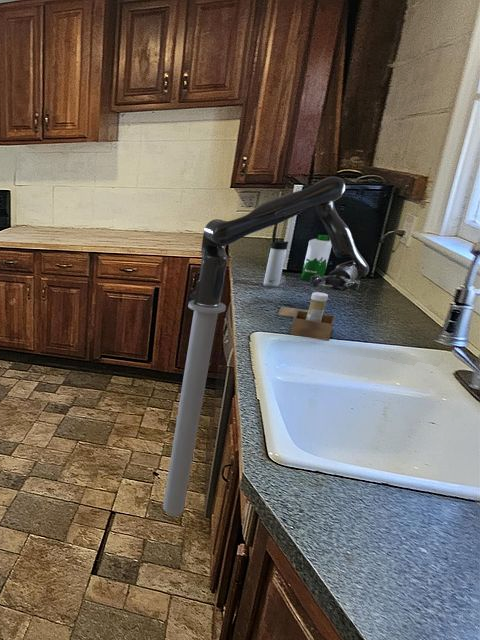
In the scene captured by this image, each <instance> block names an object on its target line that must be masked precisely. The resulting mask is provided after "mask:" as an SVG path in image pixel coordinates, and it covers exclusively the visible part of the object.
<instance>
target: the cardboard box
mask: <svg viewBox="0 0 480 640" xmlns="http://www.w3.org/2000/svg"><path fill="white" fill-rule="evenodd" d="M307 314H308V312H306V311H299V310H297V312H296V314H295V317H294V318H292V319H293V320H292V324H291V328H290V333H289V335H292V336H298V337H304V338H309V339H315V340H320V341H321V340H322V341H327V342H329V341H330V339H331V334H332V330H333V327H334V322H335V318H336V316H335V315H332V314H326V313H325V314H324V313H323V316H322V320H321V322H316V321H309V320H306V318H307ZM321 336H322V337H321ZM327 337H328V338H327Z"/></svg>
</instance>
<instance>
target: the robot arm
mask: <svg viewBox="0 0 480 640" xmlns="http://www.w3.org/2000/svg"><path fill="white" fill-rule="evenodd" d="M346 187H347V186H346V182H345V181H344V180H343V179H342V178H340V177H337V176H328V177H325V178H323V179H321V180H318V181H317V182H315V183H314V184H312V185H311V186H308V187H306V188H304V189H301V190H298V191H293V192H289V193H287V194H283V195H281V196H278V197H275V198H273V199H270V200H267V201H264V202H263V203H261V204H259V205H257V206H256V207H255V208H253V209H252V210H251V211H250V212H249V213H247V214H245V215H244V216H240V217H238V218H235V219H231V220H224V219H220V218H219V219H218V218H215V219H212V220H210V221H209V222H208V223H207V224H206V225H205V227H204V229H203V234H202V241H201V248H200V249H201V251H200V252H201V264H200V269H199V277H198V280H197V281H196V285H195V290H194V291H193V292H192V293H191V294H190V295H189V299H190V301H193V300H194V304H195V305H198V306H202V307H208V308H215V307H219V306H220V303H221V299H222V298H221V297H222V296H223V288H224V282H225V276H226V275H225V274H226V271H227V264H228V255H227V253H226V249H225V248H226V246H228V245H231V244H232V243H235V242H237V241H238V240H240V239H243V238H244V237H246V236H248V235H250V234H254V233H256V232H259V231H261V230H264V229H267V228H270V227H273V226H276V225H279V224H280V223H282V222H285V221H287V220H289V219H291V218H293V217H296V216H297V215H299V214H301V213H303V212H305V211H307V210H309V209H311V208H314V209H315V211H316V213H317V216H318V217H319V219H320V220H321V223H322V225H323V227H324V228H325V231H326V233H327V236H329V237H328V240H330V242H331V245H332V247H331V249H332V250H333V253H334V256H335V257H336V258H347V257H348V258H350V259H352V260H349V261H346V262H342V263H339V264H338V265H336V266H335V268H334V269H333V270H331V271H330V272H329V273H328V274H327V275H324V276H322V277H320V275H319V274H316V275H314V276H312V277H311V281H309V285H312V286H313V287H314V288H318V287H319V286H321V287H328V288H329V289H331V290H333V291H342V292H346V291H351V290H352V291H354V292H355V291H356V292H357V290H358V289H359V287H360V285H361V284H360V283H361V280H360V278H364V277H366V276H367V275H368V274H369V273H370V266H369V264H368V263H367V261H366V260H365V258H364V257H363V256H362V255H361V253H360V251H359V250H358V248H357V246H356V242H355V240H354V236H353V234H352V232H351V230H350V228H349V227H348V225H347V224H346V223H345V222H344V220H343V219H342V218H341V217H340V216H339V214H338V212H337V210H336V207H335V203H334V202H336V201H337V200H339V199H340V198H342V196H343V195H344V193H345V191H346Z"/></svg>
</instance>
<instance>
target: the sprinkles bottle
mask: <svg viewBox="0 0 480 640" xmlns="http://www.w3.org/2000/svg"><path fill="white" fill-rule="evenodd" d="M328 298H329V294H327V293H325V292H319V291H318V292H315V291H314V292H312V293H311V297H310V303H309V306H308V309H307V310H308V314H307V318H306V320H309V321H316V322H321V320H322V316H323V314H324V312H325V308H326V303H327V301H328Z"/></svg>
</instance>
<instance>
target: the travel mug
mask: <svg viewBox="0 0 480 640" xmlns="http://www.w3.org/2000/svg"><path fill="white" fill-rule="evenodd" d="M288 245H289V241H272V242H271V245H270V250H269V255H268V259H267V265H266V270H265V275H264V280H263V284H262V285H263V286H264V287H265V288H271V289H276V288H279V287H280V284H281V283H280V282H281V278H282V274H283V269H284V264H285V260H286V255H287V250H288Z"/></svg>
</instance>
